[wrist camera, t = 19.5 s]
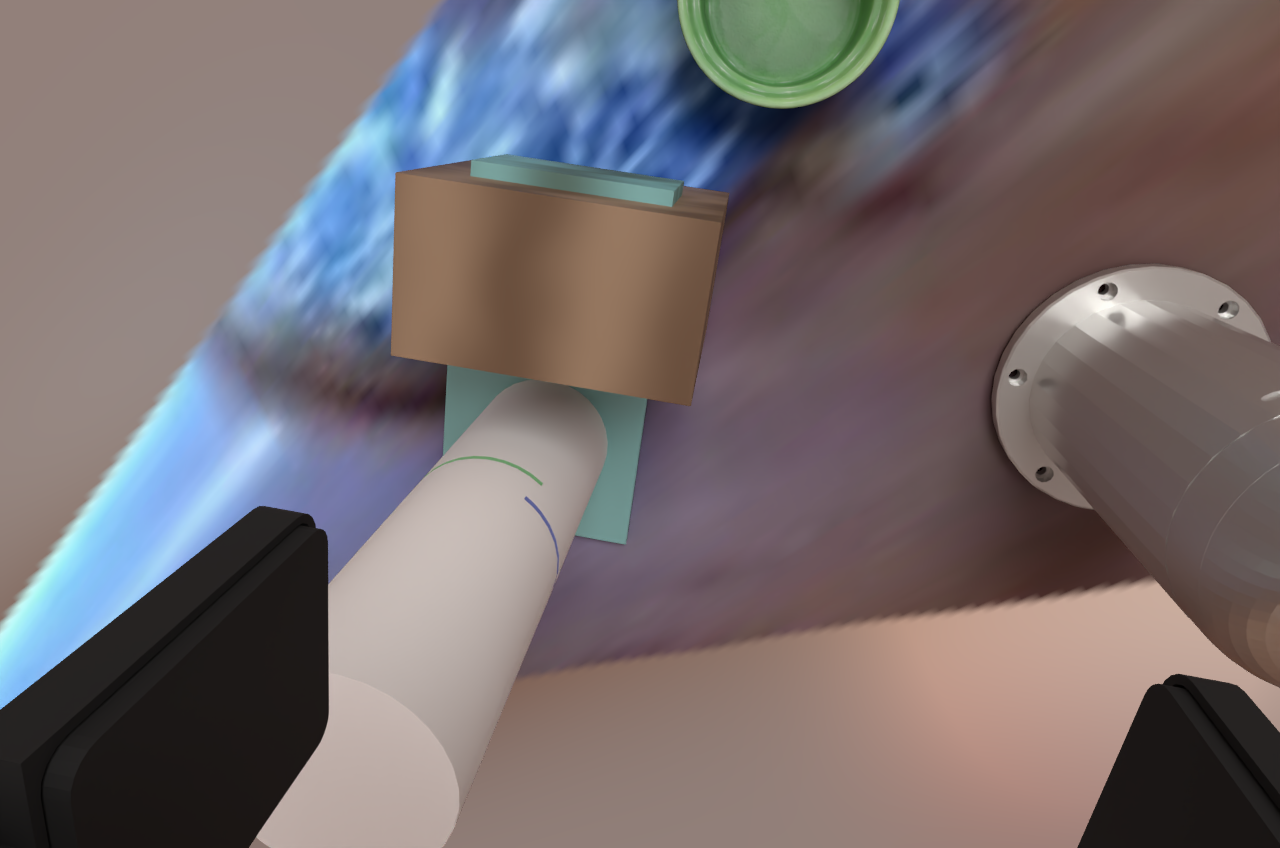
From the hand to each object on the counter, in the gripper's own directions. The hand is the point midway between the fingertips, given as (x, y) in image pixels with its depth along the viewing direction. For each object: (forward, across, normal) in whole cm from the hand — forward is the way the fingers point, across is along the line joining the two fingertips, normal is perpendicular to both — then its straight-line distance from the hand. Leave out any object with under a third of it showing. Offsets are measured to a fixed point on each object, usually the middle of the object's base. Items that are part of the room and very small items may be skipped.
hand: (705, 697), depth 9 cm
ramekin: (+35, 0, -11) cm, 36 cm away
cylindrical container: (+34, +9, +12) cm, 37 cm away
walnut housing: (+34, +7, +1) cm, 35 cm away
